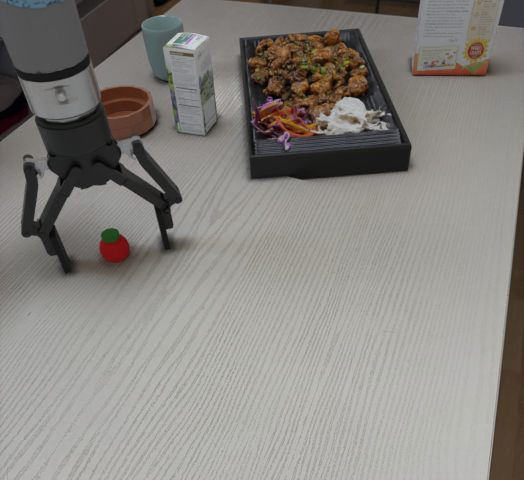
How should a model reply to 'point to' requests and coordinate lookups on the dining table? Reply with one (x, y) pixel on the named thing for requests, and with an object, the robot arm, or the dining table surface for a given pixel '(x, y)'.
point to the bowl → (128, 110)
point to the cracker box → (455, 36)
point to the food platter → (318, 107)
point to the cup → (159, 40)
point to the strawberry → (113, 245)
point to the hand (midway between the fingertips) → (118, 258)
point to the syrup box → (191, 82)
